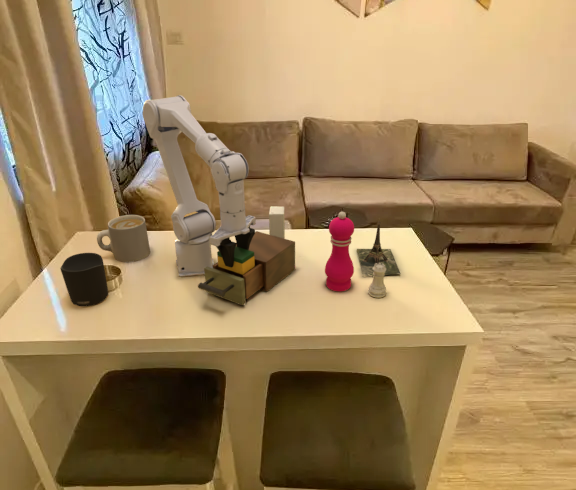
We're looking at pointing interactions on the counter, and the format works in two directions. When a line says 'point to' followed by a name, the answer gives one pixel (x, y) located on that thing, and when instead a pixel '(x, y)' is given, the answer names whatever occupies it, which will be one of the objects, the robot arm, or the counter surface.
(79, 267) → the black speaker
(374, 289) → the rook chess piece
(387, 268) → the eiffel tower figurine
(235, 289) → the drawer
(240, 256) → the sponge
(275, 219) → the cosmetic box
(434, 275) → the counter surface
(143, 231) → the coffee mug
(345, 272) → the pepper mill
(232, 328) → the counter surface
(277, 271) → the cabinet
